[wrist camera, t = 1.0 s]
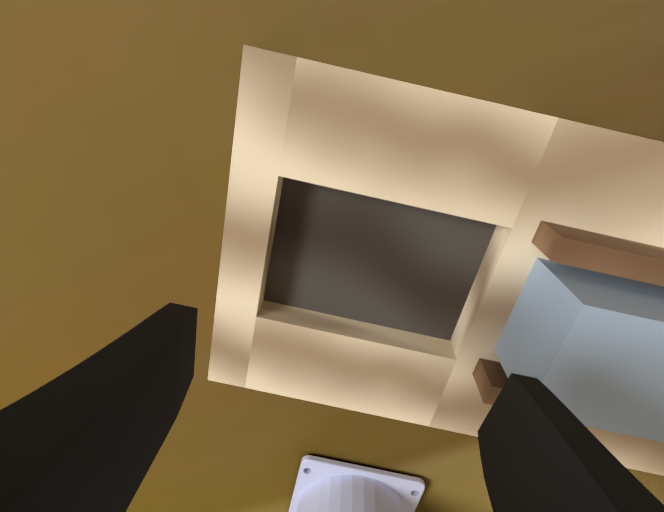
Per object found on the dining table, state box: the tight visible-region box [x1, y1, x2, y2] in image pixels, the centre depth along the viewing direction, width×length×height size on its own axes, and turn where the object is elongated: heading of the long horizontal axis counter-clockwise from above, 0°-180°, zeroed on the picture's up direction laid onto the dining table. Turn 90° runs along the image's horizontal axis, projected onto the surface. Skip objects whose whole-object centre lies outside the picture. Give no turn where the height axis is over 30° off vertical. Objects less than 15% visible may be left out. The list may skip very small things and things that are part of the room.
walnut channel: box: [472, 220, 664, 405], centre depth 18 cm, size 8×13×2 cm, turn 78°
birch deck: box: [208, 45, 664, 476], centre depth 19 cm, size 16×36×2 cm, turn 78°
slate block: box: [494, 258, 664, 442], centre depth 17 cm, size 5×6×4 cm
